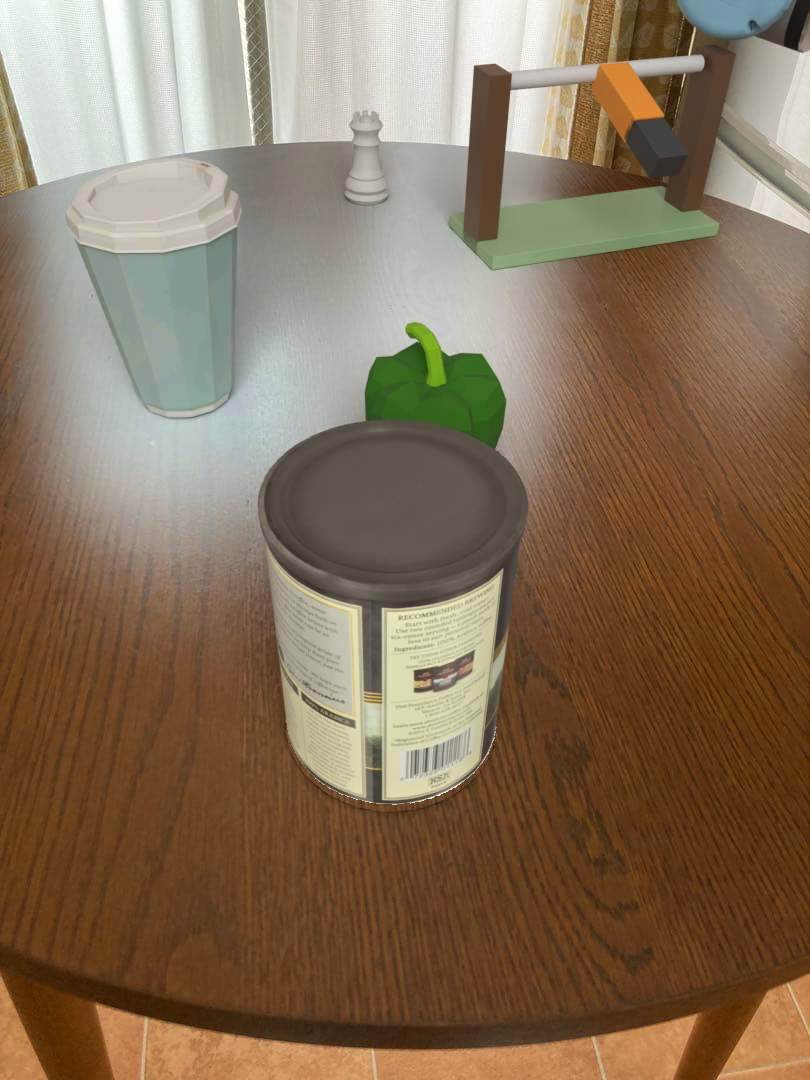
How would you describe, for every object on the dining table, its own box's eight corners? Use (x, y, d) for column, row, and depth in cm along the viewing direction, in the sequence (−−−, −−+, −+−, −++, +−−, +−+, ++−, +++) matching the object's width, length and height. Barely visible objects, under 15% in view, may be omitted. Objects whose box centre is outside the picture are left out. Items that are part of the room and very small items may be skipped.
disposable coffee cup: (166, 456, 60) (123, 233, 50) (77, 392, 65) (22, 179, 55) (290, 394, 66) (274, 183, 56) (198, 339, 71) (169, 139, 61)
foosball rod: (759, 166, 77) (690, 71, 83) (773, 141, 75) (701, 45, 80) (560, 192, 72) (500, 89, 77) (569, 166, 70) (507, 62, 75)
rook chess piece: (370, 186, 95) (370, 104, 90) (397, 199, 93) (399, 116, 87) (335, 196, 93) (333, 112, 88) (362, 210, 91) (361, 125, 85)
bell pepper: (512, 512, 56) (530, 370, 50) (379, 528, 55) (380, 384, 48) (477, 434, 62) (488, 298, 56) (357, 446, 61) (354, 309, 54)
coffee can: (378, 612, 50) (378, 389, 40) (538, 711, 45) (580, 484, 36) (237, 730, 44) (199, 501, 34) (404, 859, 39) (413, 633, 30)
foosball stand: (660, 197, 95) (693, 35, 85) (717, 235, 88) (760, 64, 78) (448, 226, 88) (457, 54, 78) (492, 270, 81) (508, 88, 71)
